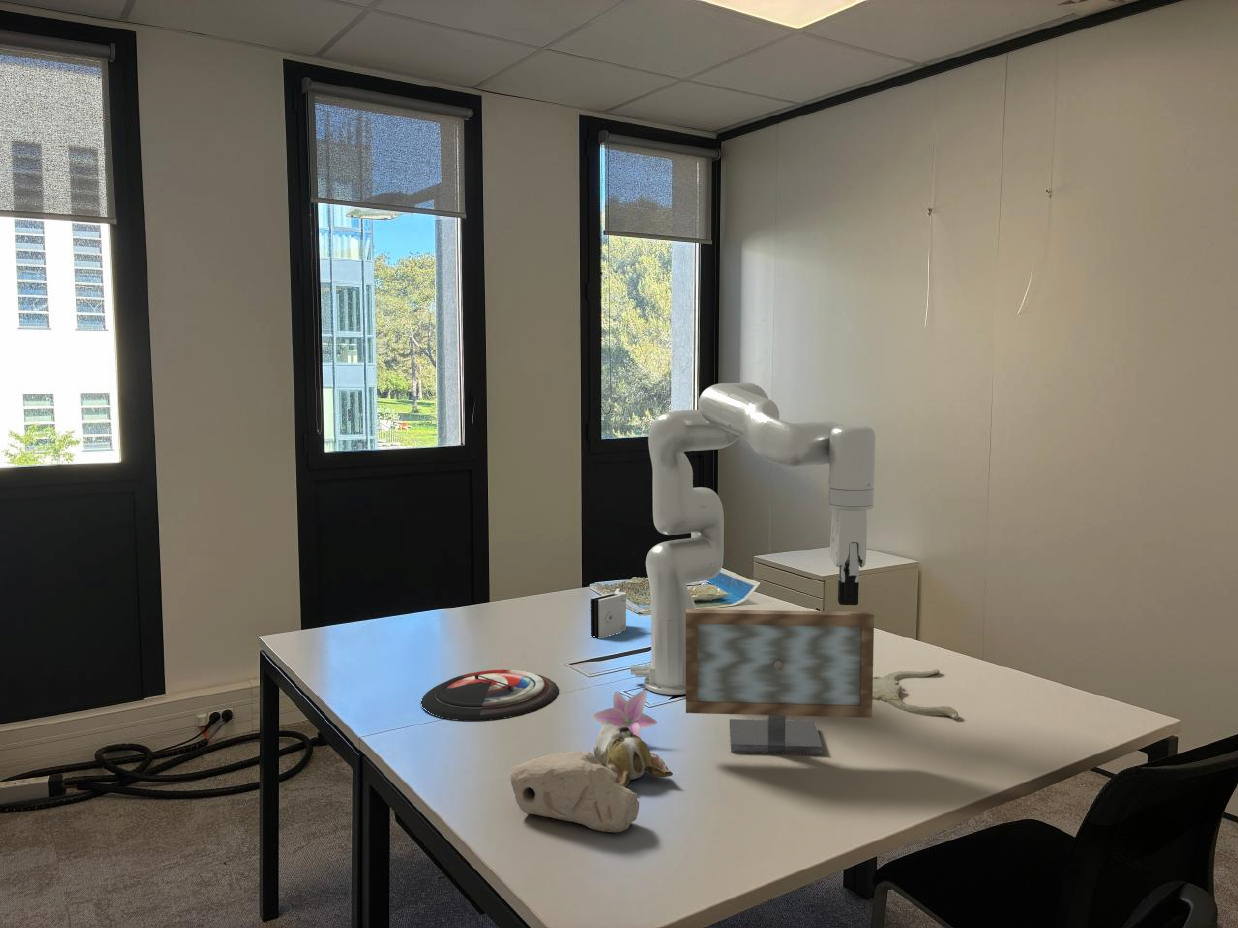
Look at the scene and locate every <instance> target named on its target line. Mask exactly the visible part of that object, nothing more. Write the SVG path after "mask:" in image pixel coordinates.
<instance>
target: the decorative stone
mask: <svg viewBox="0 0 1238 928" xmlns="http://www.w3.org/2000/svg"><path fill="white" fill-rule="evenodd" d="M617 776H618V774H617V773H614V772H613V771H612V770H611V769H610V768H609V767H604V766H603V765H602V764H601V762H600V761H599V760H598V759H596V757H595V756H594V753H592V752H590V751H584V752H583V751H575V750H569V751H566V752H553V753H552V752H551V753H547V754H545V755H543V756H538V757H535V758H533V759H529V760H527V761H525V762H523V763H519V764H515V765H513V767H512V770H511V774H510V784H511V788H512V790H513V794H514V799H515V801H516V804H517V806H518V807H519V809H520V810H521V811H522V812H523V813H525V814H527V815H528V814H529V815H531V814H532V815H536V816H541V817H546V818H552V819H556V820H560V821H566V822H572V823H577V824H579V825H580V824H581V825H583V826H586V827H588V828H589V829H592V830H594V831H598V832H604V833H620V832H623V831H625V830H627V829H628V828H629V827H630V824H632V823H633V822H635V821H636V820H637V818H638V814H639V811H640V801H639V800H638V795H637V792H633V791H632V790H631V789H629V788H627V787H623V786H621V785H619V784H617V783H615V782H616V778H617Z"/></svg>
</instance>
